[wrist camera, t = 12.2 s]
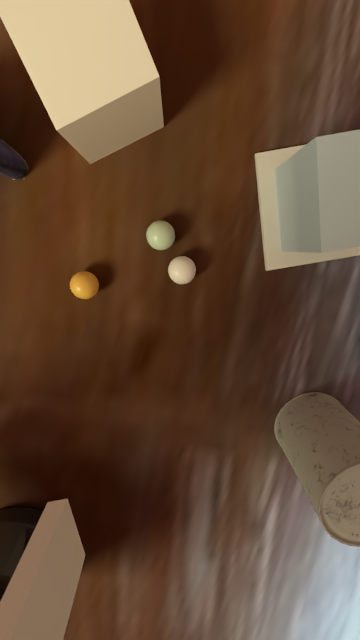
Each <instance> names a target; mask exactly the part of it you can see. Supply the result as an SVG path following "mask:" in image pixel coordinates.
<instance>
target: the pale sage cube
mask: <svg viewBox="0 0 360 640" xmlns="http://www.w3.org/2000/svg"><path fill="white" fill-rule="evenodd" d="M275 174H276V187H277V199H278V212H279V225H280V238H281V251H284V252H311V253H324V252H330V251H336V250H342V249H348V248H354V247H360V129H359V130H354V131H348V132H342V133H337V134H331V135H325V136H320V137H316V138H314V139H313V140H312V141H310V142H309V143H308V144H307V145H305V146H304V147H303V148H301V149H300V150H299V151H298V152H296V153H295V154H294V155H292V156H291V157H290V158H289V159H287V160H286V161H285V162H284V163H282V164H281V165H280V166H278V167H277V168H276V169H275Z"/></svg>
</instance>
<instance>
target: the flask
mask: <svg viewBox="0 0 360 640" xmlns="http://www.w3.org/2000/svg"><path fill="white" fill-rule="evenodd" d="M27 173H28V165H27V163H26V161H25V160H24V159H23V158H22V156H21V155H20V154H19V153H17V152H16V151H15V150H14V149H13V148H12V147H11V146H10V145H7V144H6V142H5V141H3V140H2V139H0V174H3V175H5V176H7V177H10V178H12V179H13V180H21V179H24V180H25V176H26V175H27Z"/></svg>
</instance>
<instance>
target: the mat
mask: <svg viewBox="0 0 360 640" xmlns="http://www.w3.org/2000/svg"><path fill="white" fill-rule="evenodd" d="M306 145H307V144H306ZM304 146H305V145H301V146H295V147H289V148H284V149H278V150H272V151H267V152H261V153H256V154H255V165H256V175H257V186H258V197H259V208H260V218H261V229H262V240H263V251H264V262H265V270H266V271H268V270H274V269H280V268H286V267H292V266H298V265H304V264H310V263H316V262H322V261H328V260H334V259H340V258H346V257H352V256H358V255H360V247H354V248H348V249H342V250H336V251H330V252H324V253H311V252H284V251H281V238H280V225H279V212H278V199H277V187H276V174H275V169H276V168H277V167H278V166H280V165H281V164H282V163H284V162H285V161H286V160H287V159H289V158H290V157H291V156H292V155H294V154H295V153H296V152H298V151H299V150H300V149H301V148H303V147H304Z"/></svg>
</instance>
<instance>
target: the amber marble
mask: <svg viewBox="0 0 360 640" xmlns="http://www.w3.org/2000/svg"><path fill="white" fill-rule="evenodd" d="M70 288H71V291H72V292H73V294H74V295H75V296H77V297H79V298H81V299H89V298H91V297H93V296H95V295H96V293H97V292H98V289H99V282H98V279H97V278H96V276H95V275H93V274H92V273H90V272H87V271H81V272H78V273H76V274H75V275H74V276H73V277H72V279H71V281H70Z"/></svg>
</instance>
